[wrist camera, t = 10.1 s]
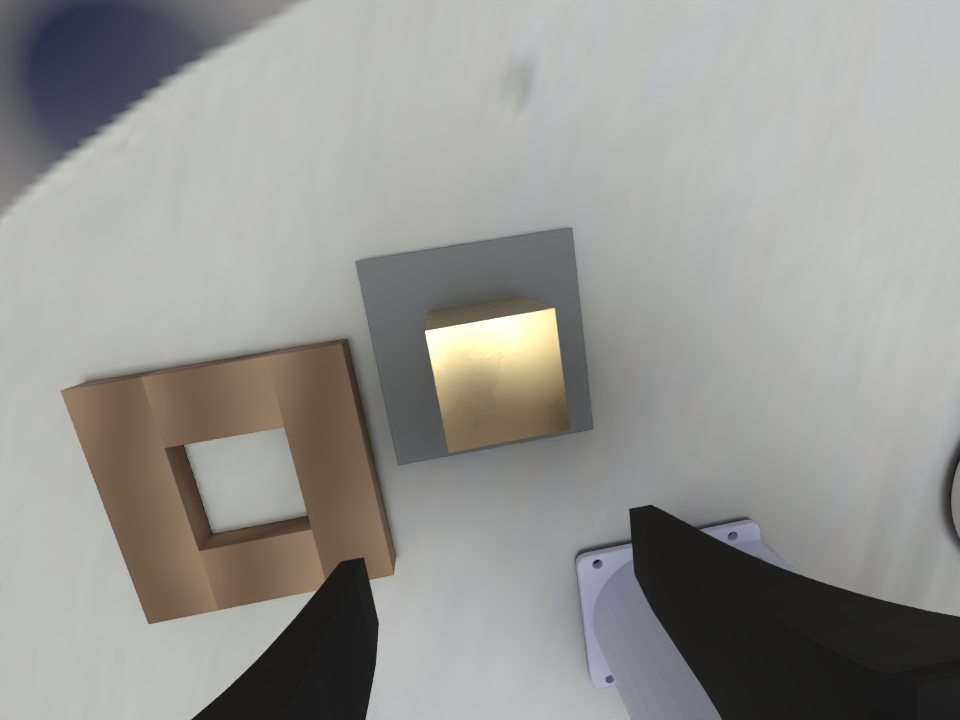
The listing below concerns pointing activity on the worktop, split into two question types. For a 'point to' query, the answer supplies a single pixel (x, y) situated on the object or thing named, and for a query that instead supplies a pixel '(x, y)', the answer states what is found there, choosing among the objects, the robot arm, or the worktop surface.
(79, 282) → the worktop surface
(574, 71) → the worktop surface
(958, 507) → the supplement tub
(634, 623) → the robot arm
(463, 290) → the charcoal mat
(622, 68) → the worktop surface
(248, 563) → the walnut square frame
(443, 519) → the worktop surface
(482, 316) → the brass plug
